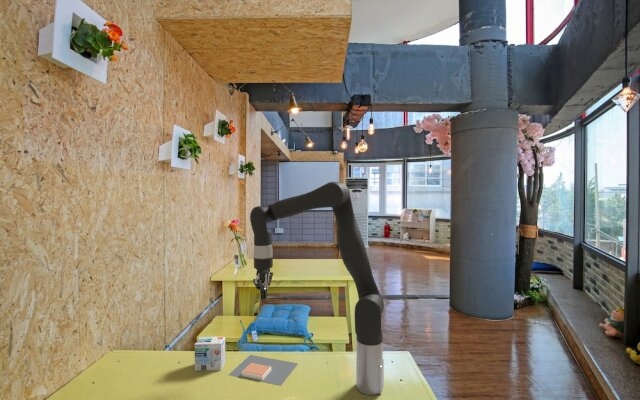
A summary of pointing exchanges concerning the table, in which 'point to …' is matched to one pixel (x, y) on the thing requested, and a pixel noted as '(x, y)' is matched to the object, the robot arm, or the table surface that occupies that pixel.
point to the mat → (278, 366)
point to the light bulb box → (209, 353)
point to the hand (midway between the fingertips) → (263, 298)
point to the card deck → (256, 371)
